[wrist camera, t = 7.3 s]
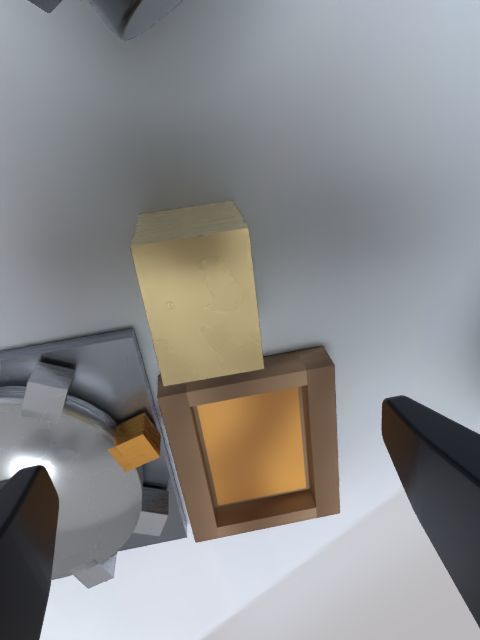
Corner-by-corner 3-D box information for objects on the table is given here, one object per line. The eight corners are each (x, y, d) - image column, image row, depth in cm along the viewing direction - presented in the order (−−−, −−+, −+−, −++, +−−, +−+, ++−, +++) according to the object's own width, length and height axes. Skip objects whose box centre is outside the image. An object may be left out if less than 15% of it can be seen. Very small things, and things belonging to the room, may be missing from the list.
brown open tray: (322, 345, 20) (334, 365, 19) (330, 488, 24) (340, 513, 23) (158, 376, 20) (157, 398, 18) (194, 516, 24) (195, 542, 22)
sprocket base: (133, 328, 18) (132, 337, 18) (186, 524, 24) (187, 537, 23) (-170, 381, 18) (-184, 393, 17) (-43, 570, 23) (-50, 585, 23)
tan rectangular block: (232, 199, 17) (248, 228, 13) (247, 317, 19) (264, 368, 16) (139, 213, 17) (129, 246, 13) (165, 331, 19) (163, 386, 15)
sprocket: (-186, 386, 17) (-371, 536, 11) (143, 344, 18) (128, 461, 12) (-63, 587, 22) (-143, 756, 17) (182, 546, 23) (185, 692, 18)
